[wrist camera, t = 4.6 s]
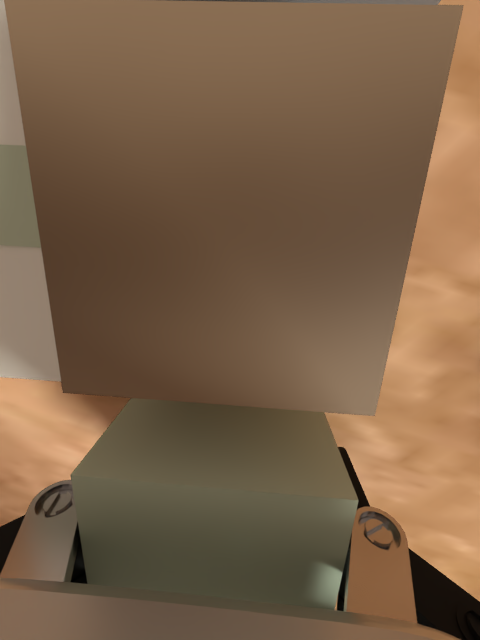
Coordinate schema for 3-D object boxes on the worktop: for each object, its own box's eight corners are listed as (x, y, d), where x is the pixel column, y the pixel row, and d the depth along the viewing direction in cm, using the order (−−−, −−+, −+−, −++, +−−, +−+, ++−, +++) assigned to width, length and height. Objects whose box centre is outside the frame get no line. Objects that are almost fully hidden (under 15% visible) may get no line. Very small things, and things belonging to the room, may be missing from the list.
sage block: (291, 483, 13) (319, 675, 7) (166, 472, 13) (98, 651, 8) (306, 368, 11) (358, 500, 6) (162, 358, 12) (71, 475, 6)
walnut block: (312, 323, 11) (374, 415, 5) (162, 313, 11) (62, 392, 5) (333, 151, 9) (462, 5, 3) (157, 145, 9) (3, -2, 4)
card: (95, 376, 12) (85, 384, 11) (6, 370, 12) (-8, 377, 11) (49, -55, 8) (30, -82, 7) (-82, -57, 8) (-112, -84, 8)
